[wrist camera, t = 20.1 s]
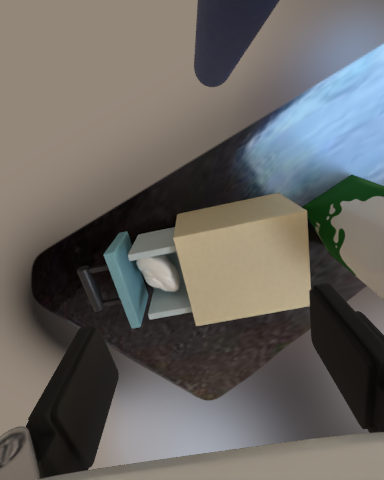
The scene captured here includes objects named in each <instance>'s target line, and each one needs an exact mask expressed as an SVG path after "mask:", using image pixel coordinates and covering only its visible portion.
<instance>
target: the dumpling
mask: <svg viewBox="0 0 384 480" xmlns="http://www.w3.org/2000/svg"><path fill="white" fill-rule="evenodd" d="M136 264H137V266H138V268H139V270H141V272H142V274H143V276H144V278H145V281H146V282H147V283H148V284H149V285H150V286H152V287H156V288H160V289H162V290H164V291H172V292H175V291H177V290H178V289H179V286H180V279H179V274H178V271H177V269H176V268H175V266H174V265H173V264H172V263H171V262H170V261H169V260H168V259H167V257H166V256H165V255H158V256H153V257H148V258H143V259H138V260H137V261H136Z"/></svg>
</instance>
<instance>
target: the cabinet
mask: <svg viewBox="0 0 384 480" xmlns="http://www.w3.org/2000/svg"><path fill="white" fill-rule="evenodd" d="M173 239H174V243H175V247H176V251H177V255H178V258H179V262H180V266H181V270H182V274H183V278H184V281H185V285H186V289H187V293H188V297H189V300H190V304H191V308H192V312H193V316H194V319H195V323H196V326H200V325H206V324H212V323H217V322H223V321H228V320H234V319H240V318H245V317H251V316H257V315H262V314H268V313H274V312H279V311H285V310H290V309H296V308H302V307H307V306H310V298H309V291H310V290H311V283H310V262H309V241H308V221H307V210H305V209H303V208H302V207H300V206H299V205H297V204H296V203H294V202H292V201H291V200H289V199H288V198H286V197H285V196H283V195H282V194H280V193H275V194H270V195H266V196H261V197H256V198H252V199H247V200H242V201H237V202H233V203H228V204H223V205H218V206H214V207H209V208H204V209H199V210H195V211H190V212H185V213H180V214H177V219H176V225H175V231H174V236H173Z"/></svg>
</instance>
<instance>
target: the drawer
mask: <svg viewBox="0 0 384 480" xmlns="http://www.w3.org/2000/svg"><path fill="white" fill-rule="evenodd" d="M174 231H175V227H173V228H168V229H163V230H158V231H153V232H149V233H144V234H139V235H138V236H137V238H136V240H135V242H134V244H133V246H132V244H131V241H130V238H129V235H128V232H127V231H126V232H121V233H119V234H118V235H117V236H116V238H115V239H114V241H113V242H112V243H111V245H110V246H109V248H108V249H107V250H106V252H105V253H104V258H105V260H106V263H107V264H105V265H101V266H96V267H91V268H90V267H89V266H88V265H86V266H82V267H80V268H78V269H77V273H78V275H79V278H80V280H81V282H82V284H83V287H84V289H85V291H86V294H87V296H88V298H89V300H90V303H91V305H92V307H93V310H94V311H100V310H102V309H104V307H106V306H111V305H116V304H122V305H123V307H124V310H125V313H126V315H127V318H128V320H129V323H130V326H131V328H137V327H141V323H142V319H143V315H144V311H145V308H146V304H147V300H148V296H149V295H148V292H147V289H146V286H145V283H144V280H143V277H142V274H141V271H140V270H139V268H138V266H137V264H136V261H137V260H138V259H143V258H148V257H153V256H158V255H165V256H166V257H167V259H168V260H169V261H170V262H171V263H172V264H173V265H174V266H175V268H176V269H177V271H178V274H179V279H180V286H179V289H178V290H177V291H175V292H172V291H164V290H162V289H160V288H156V287H153V288H154V291H153V295H152V300H151V304H150V308H149V313H148V316H149V319H156V318H161V317H167V316H172V315H178V314H183V313H189V312H192V308H191V304H190V300H189V297H188V293H187V289H186V285H185V281H184V278H183V274H182V270H181V266H180V262H179V258H178V255H177V251H176V247H175V243H174V239H173V236H174ZM106 270H109V271H110V273H111V276H112V279H113V281H114V284H115V287H116V289H117V292H118V294H119V297H120V298H115V299H110V300H105V301H103V299H102V296H101V294H100V291H99V289H98V286H97V284H96V282H95V279H94V277H93V274H92V273H96V272H101V271H106Z"/></svg>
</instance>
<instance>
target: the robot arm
mask: <svg viewBox="0 0 384 480" xmlns="http://www.w3.org/2000/svg"><path fill="white" fill-rule="evenodd" d="M309 298H310V319H311V337H312V343H313V345H314V347H315V349H316V351H317V353H318V354H319V356H320V358H321V359H322V361H323V363H324V365H325V366H326V368H327V370H328V371H329V373H330V375H331V376H332V378H333V380H334V382H335V383H336V385H337V387H338V389H339V390H340V392H341V394H342V395H343V397H344V399H345V400H346V402H347V404H348V406H349V407H350V409H351V411H352V413H353V414H354V416H355V418H356V419H357V421H358V423H359V424H360V426H361V427H362V428H363V429H368V431H369V432H370V433H362V434H351V435H343V436H333V437H325V438H316V439H308V440H300V441H293V442H285V443H278V444H270V445H262V446H255V447H247V448H240V449H233V450H226V451H218V452H211V453H204V454H196V455H189V456H182V457H175V458H168V459H161V460H154V461H147V462H140V463H133V464H127V465H119V466H112V467H106V468H98V469H92V470H88V469H89V467H91V466H92V465H93V462H94V460H95V456H96V453H97V449H98V446H99V443H100V439H101V436H102V433H103V429H104V426H105V422H106V419H107V415H108V412H109V409H110V405H111V402H112V398H113V395H114V392H115V388H116V385H117V381H118V370H117V368H116V366H115V363H114V361H113V359H112V356H111V354H110V352H109V350H108V347H107V345H106V343H105V341H104V338H103V336H102V334H101V332H100V330H99V329H98V328H97V329H96V327H94V326H89V327H84V328H80V329H79V330H78V332H77V334H76V336H75V338H74V339H73V341H72V343H71V344H70V346H69V348H68V350H67V351H66V353H65V355H64V357H63V359H62V360H61V362H60V364H59V366H58V367H57V369H56V371H55V373H54V374H53V376H52V378H51V380H50V381H49V383H48V385H47V387H46V388H45V390H44V392H43V394H42V396H41V398H40V399H39V401H38V402H37V404H36V406H35V408H34V410H33V411H32V413H31V415H30V417H29V418H28V420H29V421H28V423H27V425H26V427H16V428H13V429H11V430H9V431H7V432H6V433H4V434H3V435H1V436H0V480H384V335H383V334H382V333H381V332H380V331H379V330H378V329H377V328H376V327H375V326H374V325H373V324H372V323H371V321H370V320H369V319H368V318H367V317H366V316H365V315H364V314H362V313H361V312H359V311H357V312H355V311H354V310H353V309H352V308H351V307H350V306H349V305H348V303H347V302H346V301H345V300H344V299H343V298H342V297H341V296H340V295H339V294H338V293H337V292H336V291H335V289H334V288H333V287H332V286H331V285H330V284H328V283H326V284H320V285H315V286H313V289H312V290H310V291H309Z"/></svg>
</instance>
